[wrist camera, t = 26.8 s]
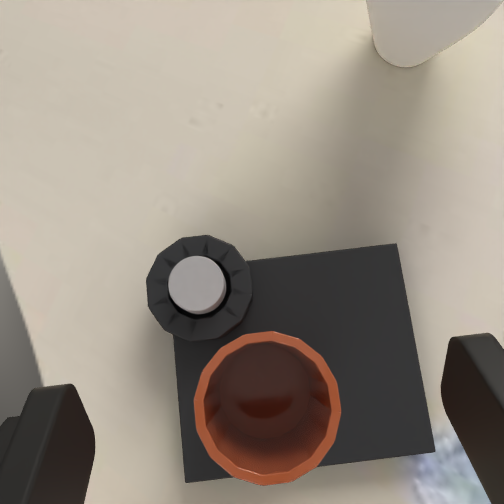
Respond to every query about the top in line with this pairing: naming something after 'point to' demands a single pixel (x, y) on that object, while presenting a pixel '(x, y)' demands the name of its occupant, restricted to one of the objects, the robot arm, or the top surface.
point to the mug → (423, 26)
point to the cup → (267, 408)
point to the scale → (307, 340)
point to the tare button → (197, 285)
